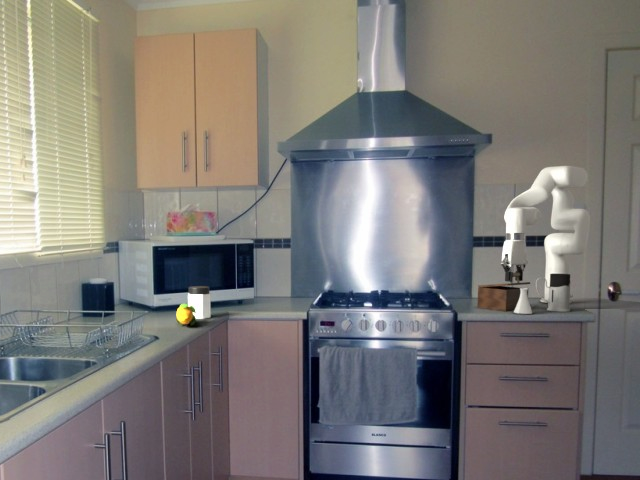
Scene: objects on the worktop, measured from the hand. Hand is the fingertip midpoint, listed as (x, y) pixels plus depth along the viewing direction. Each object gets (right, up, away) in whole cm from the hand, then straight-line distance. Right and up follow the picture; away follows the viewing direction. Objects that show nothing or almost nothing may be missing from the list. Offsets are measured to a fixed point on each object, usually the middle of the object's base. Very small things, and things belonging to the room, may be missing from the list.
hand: (513, 280), depth 274 cm
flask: (0, -14, -10) cm, 17 cm away
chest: (-2, -12, +6) cm, 13 cm away
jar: (-130, -15, -16) cm, 132 cm away
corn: (-134, -17, -36) cm, 140 cm away
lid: (-2, -2, +4) cm, 5 cm away
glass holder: (+15, -13, -1) cm, 20 cm away
